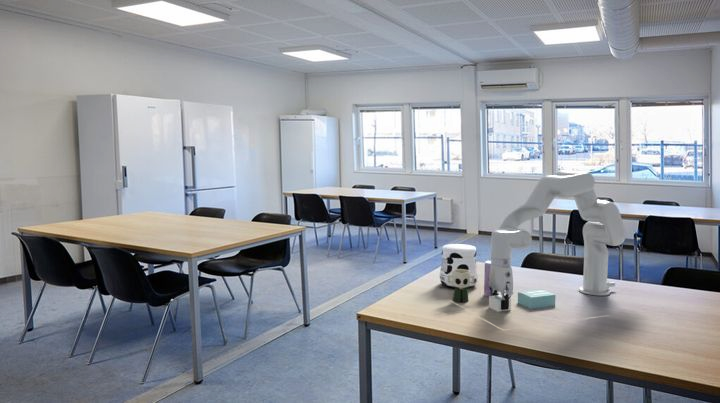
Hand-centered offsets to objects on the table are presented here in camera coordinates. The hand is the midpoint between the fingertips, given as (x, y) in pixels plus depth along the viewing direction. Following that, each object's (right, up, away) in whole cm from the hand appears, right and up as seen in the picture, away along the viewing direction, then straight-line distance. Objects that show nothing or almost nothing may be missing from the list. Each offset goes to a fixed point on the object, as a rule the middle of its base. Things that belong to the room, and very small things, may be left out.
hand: (499, 306), depth 211 cm
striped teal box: (+16, 0, +6) cm, 17 cm away
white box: (0, -1, 0) cm, 1 cm away
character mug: (-13, 0, +11) cm, 17 cm away
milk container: (-10, +2, +36) cm, 37 cm away
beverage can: (+1, 0, +19) cm, 19 cm away
